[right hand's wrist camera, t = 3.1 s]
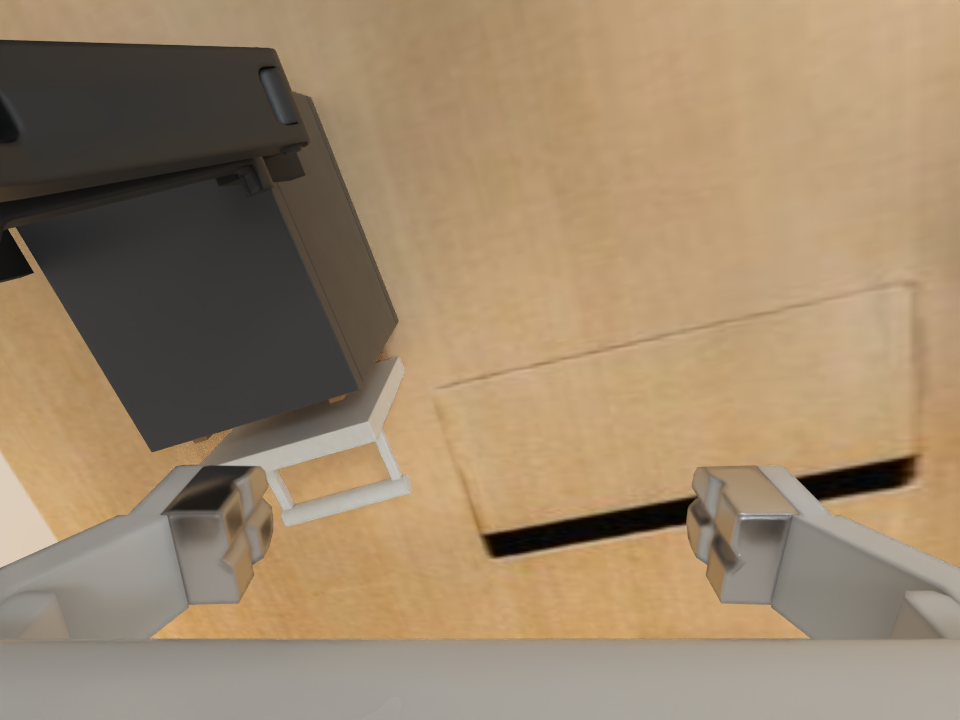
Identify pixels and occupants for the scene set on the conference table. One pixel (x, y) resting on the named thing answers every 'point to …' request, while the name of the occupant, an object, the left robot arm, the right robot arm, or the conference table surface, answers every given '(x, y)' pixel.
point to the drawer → (322, 444)
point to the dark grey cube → (223, 296)
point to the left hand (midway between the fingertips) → (143, 198)
